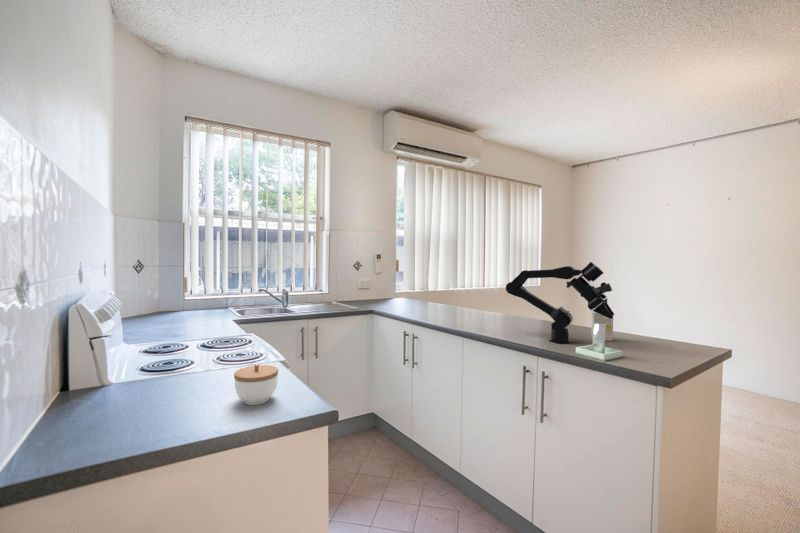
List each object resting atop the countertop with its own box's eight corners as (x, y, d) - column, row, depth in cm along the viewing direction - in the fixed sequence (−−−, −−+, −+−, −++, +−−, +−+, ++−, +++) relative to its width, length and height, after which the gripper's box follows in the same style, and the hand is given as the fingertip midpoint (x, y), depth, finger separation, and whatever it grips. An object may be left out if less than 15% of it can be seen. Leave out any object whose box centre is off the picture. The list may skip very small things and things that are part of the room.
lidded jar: (246, 412, 88) (246, 374, 88) (226, 400, 95) (226, 364, 95) (286, 400, 96) (286, 364, 96) (265, 389, 103) (265, 356, 103)
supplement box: (610, 339, 172) (611, 311, 171) (612, 341, 167) (613, 313, 167) (590, 337, 174) (591, 310, 174) (592, 340, 170) (593, 312, 169)
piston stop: (589, 352, 146) (590, 322, 145) (600, 352, 146) (601, 322, 145) (596, 355, 141) (597, 324, 141) (607, 355, 141) (608, 324, 141)
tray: (575, 353, 146) (575, 347, 146) (593, 350, 151) (593, 344, 151) (603, 361, 136) (604, 354, 135) (622, 357, 141) (622, 350, 141)
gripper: (597, 277, 148) (628, 307, 142) (601, 275, 164) (629, 302, 158) (575, 295, 153) (605, 324, 147) (581, 291, 168) (608, 318, 163)
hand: (612, 316), depth 154 cm, fingers open, 9 cm apart
